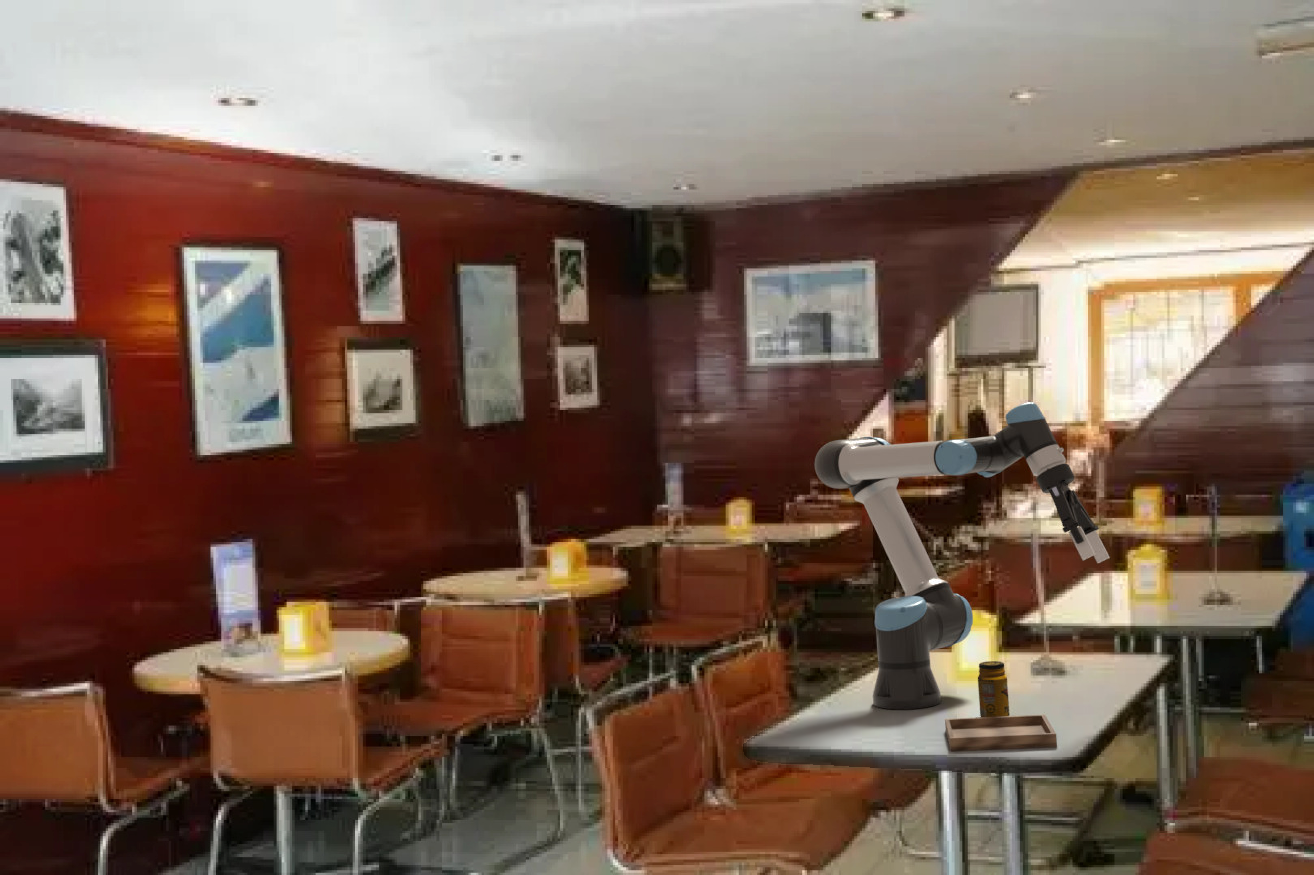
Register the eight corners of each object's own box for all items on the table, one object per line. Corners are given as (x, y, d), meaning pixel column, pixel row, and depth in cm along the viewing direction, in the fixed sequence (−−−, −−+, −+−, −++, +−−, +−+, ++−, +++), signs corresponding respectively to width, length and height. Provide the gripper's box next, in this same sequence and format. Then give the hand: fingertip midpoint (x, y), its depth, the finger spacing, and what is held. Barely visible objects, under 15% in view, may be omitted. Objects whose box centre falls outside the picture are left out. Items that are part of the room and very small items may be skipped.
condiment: (1018, 718, 312) (1014, 661, 312) (991, 726, 307) (986, 668, 307) (992, 714, 318) (988, 658, 318) (964, 721, 313) (960, 664, 313)
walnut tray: (950, 751, 287) (949, 738, 287) (945, 731, 305) (944, 719, 305) (1057, 746, 285) (1056, 733, 284) (1045, 726, 302) (1044, 714, 302)
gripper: (1052, 455, 308) (1099, 547, 302) (1080, 467, 330) (1125, 553, 323) (1020, 472, 311) (1065, 564, 304) (1050, 483, 333) (1093, 569, 326)
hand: (1096, 559), depth 314 cm, fingers open, 13 cm apart
